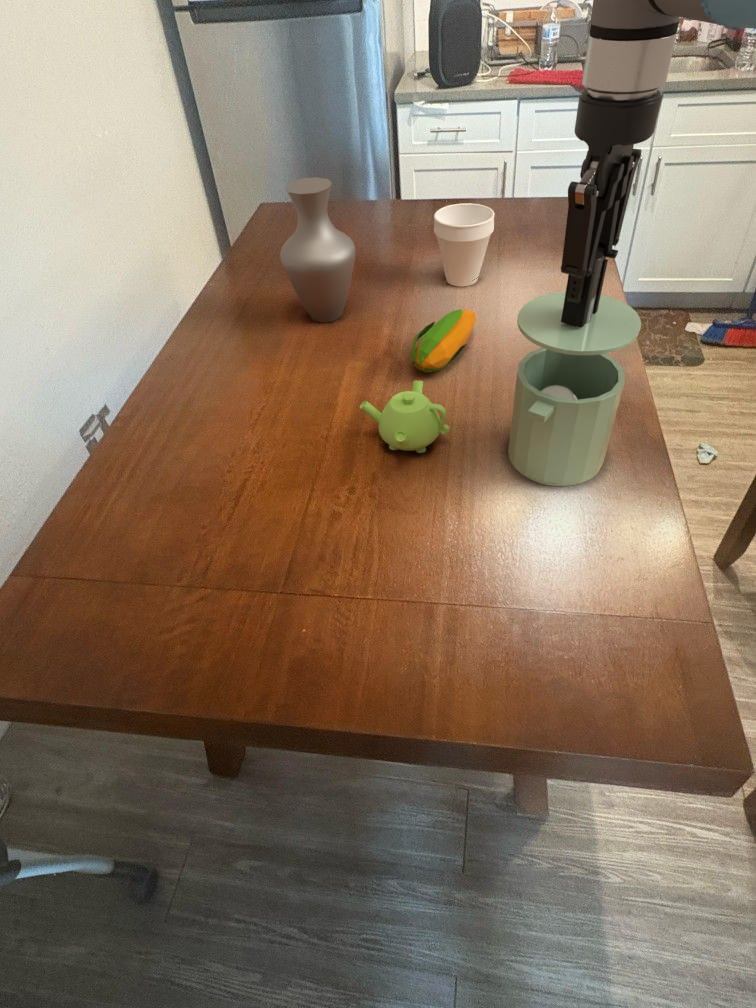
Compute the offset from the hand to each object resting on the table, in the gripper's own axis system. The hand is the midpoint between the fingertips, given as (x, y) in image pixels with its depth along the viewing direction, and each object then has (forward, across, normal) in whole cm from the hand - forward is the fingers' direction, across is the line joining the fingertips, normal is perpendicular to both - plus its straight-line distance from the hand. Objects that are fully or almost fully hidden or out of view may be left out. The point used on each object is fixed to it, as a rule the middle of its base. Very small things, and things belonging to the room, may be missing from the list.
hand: (579, 316), depth 74 cm
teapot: (+23, +9, -21) cm, 32 cm away
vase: (+23, -15, -58) cm, 64 cm away
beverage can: (+22, 0, 0) cm, 22 cm away
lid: (+1, 0, 0) cm, 1 cm away
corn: (+23, -15, -29) cm, 40 cm away
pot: (+23, 0, 0) cm, 23 cm away
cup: (+23, -42, -42) cm, 64 cm away
